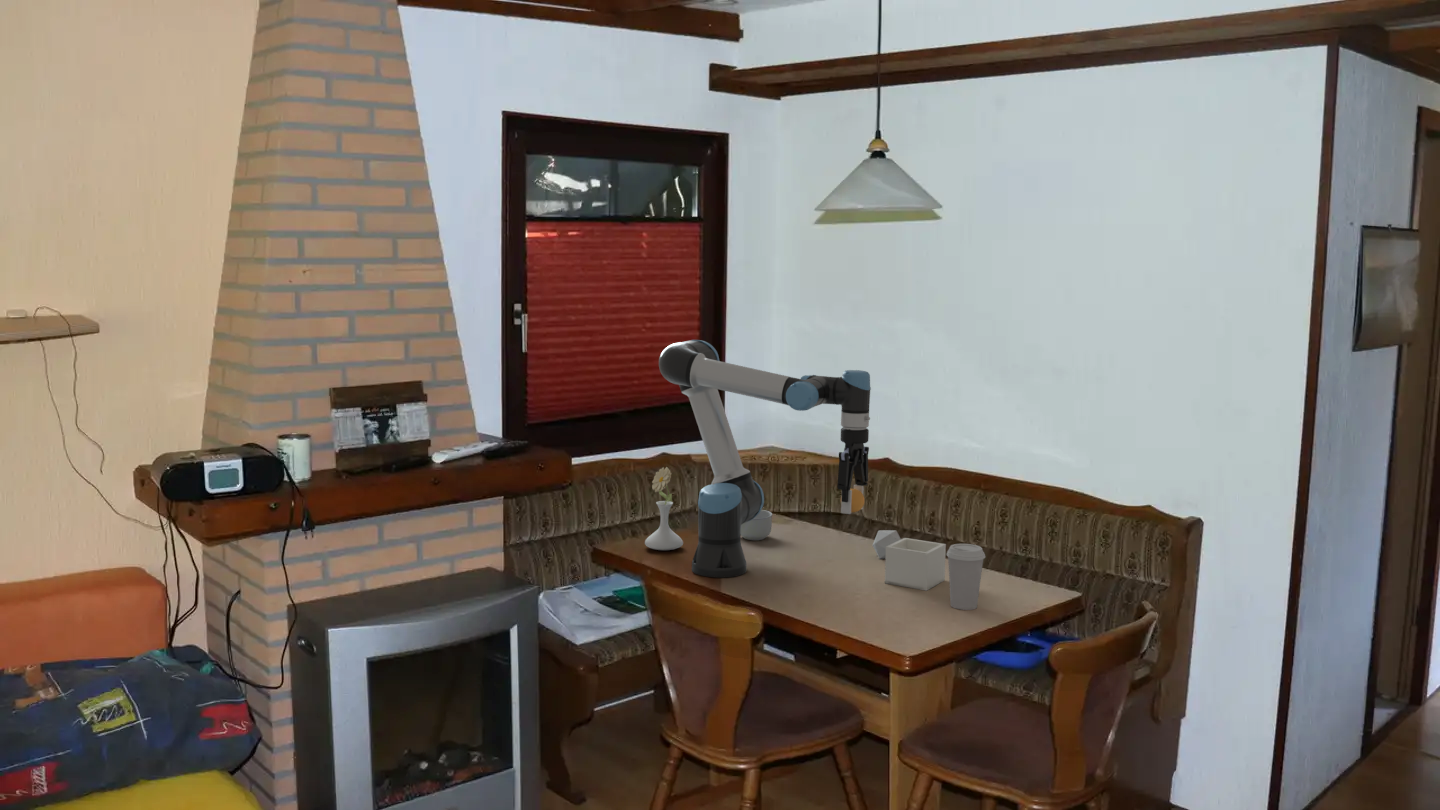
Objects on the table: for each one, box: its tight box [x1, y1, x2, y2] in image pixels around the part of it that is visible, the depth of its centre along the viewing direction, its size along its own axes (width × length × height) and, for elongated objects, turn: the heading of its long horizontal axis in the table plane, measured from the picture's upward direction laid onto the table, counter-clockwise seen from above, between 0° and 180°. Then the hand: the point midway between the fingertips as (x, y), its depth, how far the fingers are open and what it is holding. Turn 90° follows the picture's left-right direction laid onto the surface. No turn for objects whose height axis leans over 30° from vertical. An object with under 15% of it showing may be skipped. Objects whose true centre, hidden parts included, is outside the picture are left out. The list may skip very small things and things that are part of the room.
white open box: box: [884, 537, 947, 592], centre depth 314 cm, size 12×12×10 cm
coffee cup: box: [945, 543, 986, 611], centre depth 292 cm, size 10×10×15 cm
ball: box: [850, 488, 865, 513], centre depth 320 cm, size 6×6×6 cm
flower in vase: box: [644, 466, 684, 551], centre depth 344 cm, size 13×11×25 cm
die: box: [872, 529, 902, 560], centre depth 339 cm, size 8×9×10 cm
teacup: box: [741, 509, 773, 541], centre depth 361 cm, size 14×11×8 cm
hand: (852, 510), depth 320 cm, fingers closed on ball, 6 cm apart
